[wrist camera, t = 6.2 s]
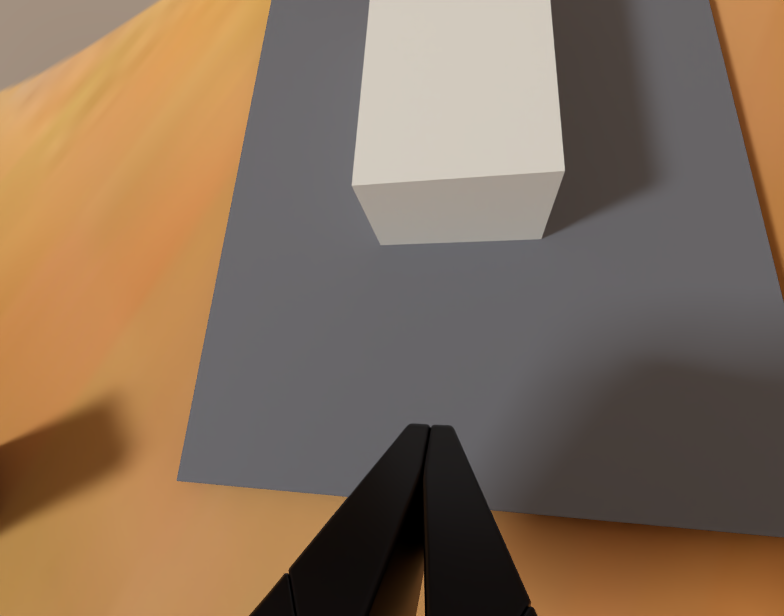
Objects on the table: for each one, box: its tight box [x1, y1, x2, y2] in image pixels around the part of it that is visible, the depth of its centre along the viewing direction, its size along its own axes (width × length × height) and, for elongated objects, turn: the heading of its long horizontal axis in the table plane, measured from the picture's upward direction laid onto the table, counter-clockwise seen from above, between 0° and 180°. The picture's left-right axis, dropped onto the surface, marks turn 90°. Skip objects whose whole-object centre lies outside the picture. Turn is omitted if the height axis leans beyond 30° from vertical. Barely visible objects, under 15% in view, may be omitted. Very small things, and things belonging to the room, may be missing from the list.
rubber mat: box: [177, 0, 784, 537], centre depth 16 cm, size 24×20×1 cm
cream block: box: [352, 0, 565, 245], centre depth 15 cm, size 4×6×12 cm
